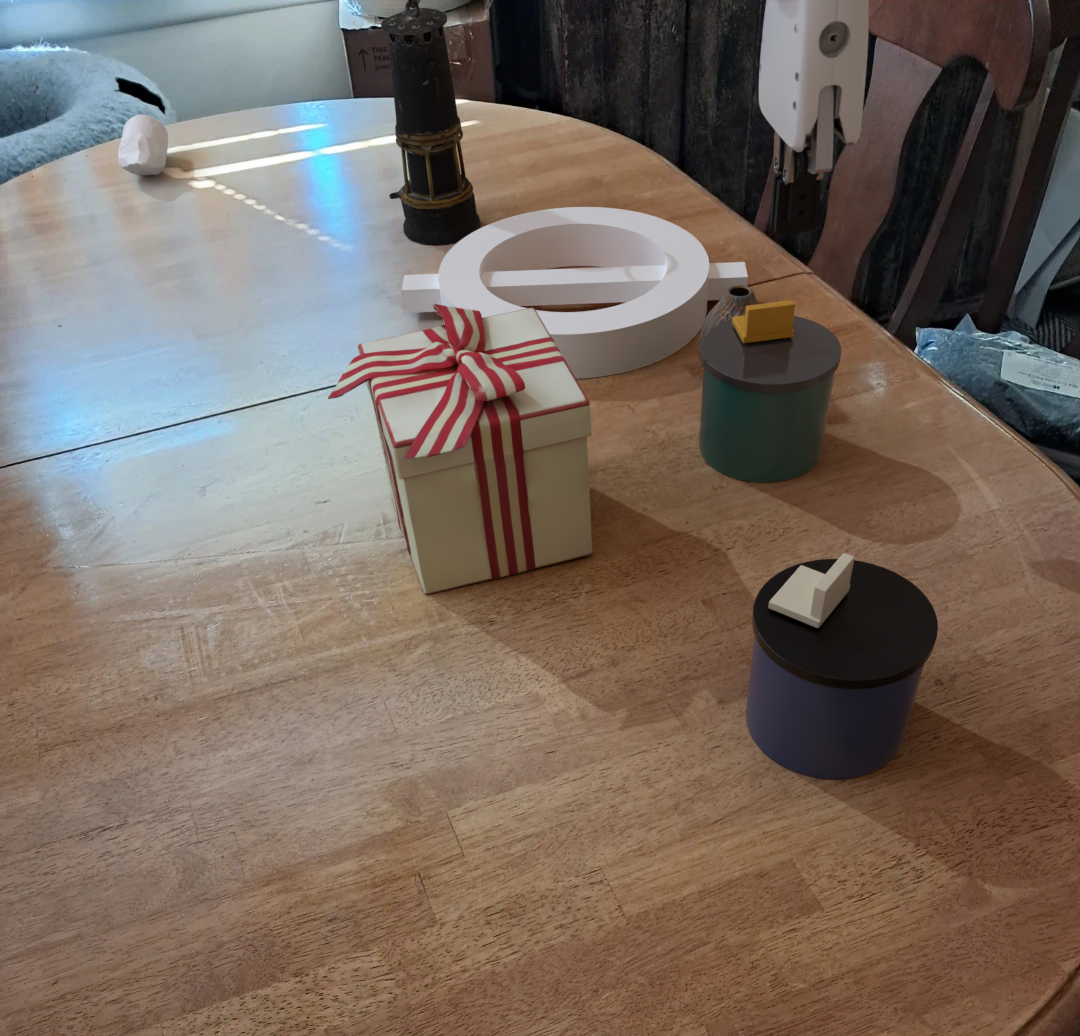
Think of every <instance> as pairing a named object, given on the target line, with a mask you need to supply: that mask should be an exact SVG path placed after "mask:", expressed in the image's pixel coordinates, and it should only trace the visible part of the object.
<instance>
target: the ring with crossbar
mask: <svg viewBox="0 0 1080 1036" xmlns="http://www.w3.org/2000/svg"><path fill="white" fill-rule="evenodd" d="M709 259H710V258H709V256H708V253H707V251H706V249H705V247H704V246H703V244H702V243H701V242H700V241H699V240H698V239H697V238H696V236H694V235H693V234H692V233H690V232H689V231H687V230H686V229H684V228H682V227H681V226H679V225H677V224H675V223H673V222H670V221H669V220H667V219H663V218H661V217H657V216H655V215H652V214H651V215H650V214H649V213H644V212H640V211H636V210H635V211H634V210H630V209H629V210H628V209H621V208H616V207H615V208H614V207H602V206H569V207H554V208H547V209H541V210H536V211H529V212H524V213H520V214H516V215H512V216H509V217H505V218H502V219H499V220H497V221H494V222H491V223H488V224H486V225H484V226H482V227H479V229H478V230H476V231H474V232H472V233H471V234H469V235H467V236H466V237H464V238H463V239H461V240H460V241H459V242H456V243H454V245H453V246H452V247H451V248H450V249H449V250H448V251H447V253H446V254H445V255H444V256H443V258H442V260H441V263H440V264H439V268H438V273H422V274H404V276H403V280H402V285H401V297H402V304H403V310H404V314H411V313H412V314H414V313H434V311H436V310H435V309H434V307H433V305H435V304H438V305H443V306H449V307H455V308H463V309H470V310H476V311H480V313H481V316H482V318H484V317H489V316H494V315H499V314H503V313H508V312H513V311H518V310H522V309H527V308H528V307H531V306H532V307H533V306H557V305H558V306H559V305H560V306H561V305H586V304H612V303H620V304H617V305H613V306H608V307H605V308H604V307H603V308H599V309H593V310H586V311H585V310H584V311H567V312H566V311H565V312H564V311H547V310H538V309H535V310H536V312H537V313H538V315H539V317H540V319H541V320H542V322H543V324H544V325H545V327H546V329H547V331H548V332H549V334H550V336H551V337H552V339H553V340H554V342H555V344H556V346H557V347H558V349H559V351H560V352H561V354H562V356H563V358H564V359H565V361H566V362H567V365H568V366H569V368H570V369H571V371H572V373H573V374H574V376H575V378H576V380H583V379H593V378H601V377H609V376H614V375H618V374H619V375H620V374H623V373H624V374H625V373H627V372H632V371H635V370H638V369H641V368H644V367H647V366H650V365H653V364H655V363H658V362H659V361H662V360H664V359H666V358H668V357H669V356H671V355H673V354H675V353H677V352H679V351H680V350H681V349H682V348H684V347H685V346H686V345H688V344H689V343H690V342H691V341H692V340H693V339H694V338H695V337H696V336H697V335H698V334H699V332H700V331H701V329H702V326H703V323H704V321H705V318H706V317H707V312H708V301H720V300H721V299H722V298H723V296H724V295H725V293H726V291H727V289H728V288H729V287H732V286H735V285H744V286H748V280H749V276H748V270H747V266H746V262H745V261H735V262H734V261H733V262H731V261H730V262H710V260H709ZM564 267H578V268H564ZM436 312H437V311H436ZM442 320H443V319H442ZM443 322H444V320H443ZM443 325H445V324H444V323H443Z"/></svg>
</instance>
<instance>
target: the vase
mask: <svg viewBox="0 0 1080 1036" xmlns="http://www.w3.org/2000/svg"><path fill="white" fill-rule="evenodd" d="M756 304H760V303H759V301H758V300H757V297H756V296H755V293H754V290H753V289H752V288H751V287H750V286H749V285H747V286H744V285H735V286H732V287H729V288H728V289H727V291H726V293H725V295H724V296H723V298H722V299H721V300H718V302H717V303H715V305H714V306H713V307H712V308H711V310H710V311H709V312H708V314H706V317H705V321H704V323H703V325H702V327H701V329H700V331H699V332H700V333H699V337H698V354H699V359H700V362H701V366H702V368H703V369H704V365H703V362H702V360H701V346H702V341H703V339H704V337H705V336H706V334H707V333H708V332H709V331H710V330H711V329H712V328H714V327H715V326H717V325H718V324H720V323H722V322H724V321H727V320H729V319H732V318H733V317H735V316H743V315H745V311H746V306H748V305H756Z"/></svg>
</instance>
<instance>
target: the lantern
mask: <svg viewBox="0 0 1080 1036" xmlns="http://www.w3.org/2000/svg"><path fill="white" fill-rule="evenodd" d="M420 2H421V0H407V2H406V3H405V5H404V11H400V12H397V13H395V14H393V15H390V16H388V17H387V18H385V19H383V20H382V22H380V28H381V30H382V31H383V32H384V33H386V36H387V37H386V38H387V46H388V54H389V62H390V63H389V65H390V74H391V84H392V92H393V93H392V94H393V102H394V111H395V126H394V131H395V137H396V138H395V143H396V145H397V146H398V148H400V151H401V152H400V153H401V162H402V170H403V180H404V185H403V186H402V187H401V188H400V189H399V190H398V191H396V192H391V193H389V194H388V197H389V199H391V200H397V199H398V200H399V199H400V203H401V206H402V211H403V217H404V220H403V224H402V228H403V233H404V235H405V237H406V238H407V239H409V240H410V241H412V242H414V243H417V244H420V245H426V246H427V245H428V246H446V245H451V244H456V243H458V242H459V241H460V240H461V239H463V238H464V237H466V236H467V235H469V234H471V233H472V232H474V231H476V230H478V229H480V228H481V219H480V216H479V213H478V212H477V204H476V198H475V197H476V196H475V193H474V186H473V184H472V182H470V181H469V179H468V177H466V170H465V169H466V168H465V163H464V156H463V150H462V145H461V140H462V139H463V138H464V137H463V136H464V132H463V129H462V123H461V119H460V116H459V115H458V114H459V113H458V108H457V101H456V95H455V88H454V82H453V76H452V70H451V64H450V58H449V52H448V46H447V45H448V44H447V40H446V39H447V38H446V33H445V28H444V26H445V25H446V23H448V15H447V14H446V13H444V12H443V11H441V10H440V9H435V8H429V7H420V6H419V5H420Z"/></svg>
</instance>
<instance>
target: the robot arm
mask: <svg viewBox="0 0 1080 1036" xmlns="http://www.w3.org/2000/svg"><path fill="white" fill-rule="evenodd" d="M869 3H870V1H869V0H765V5H764V6H765V8H764V15H763V24H762V25H763V26H762V33H761V34H762V35H761V44H760V45H761V46H760V57H759V71H758V105H759V109H760V112H761V114H762V115H763V117H764V118H765V120H766V122H768V123H769V125H770V126H771V127H772V129H773V130H774V135H773V136H774V138H773V171H774V174H773V178H772V179H773V180H772V191H771V192H772V193H771V204H770V217H769V224H770V227H771V228H772V229H773V230H774V232H775V234H776V235H777V236H785V235H793V234H800V233H801V234H802V233H807V232H812V231H814V230H815V229H816V227H817V225H818V224H817V222H818V215H819V204H820V195H821V194H820V193H821V188H822V187H821V185H822V180H823V178H824V173H825V174H826V173H831V172H832V171H833V165H834V164H833V163H834V135H836V137H838V139H839V140H841V142H842V143H844V145H846V146H848V147H851V146H855V145H856V144H857V142H858V141H859V139H860V137H861V131H862V124H863V123H862V122H863V113H864V102H865V90H866V89H865V88H866V77H867V65H868V64H867V63H868V50H869V48H868V47H869V28H870V27H869V25H870V24H869V23H870V4H869ZM775 173H776V174H775Z"/></svg>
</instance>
